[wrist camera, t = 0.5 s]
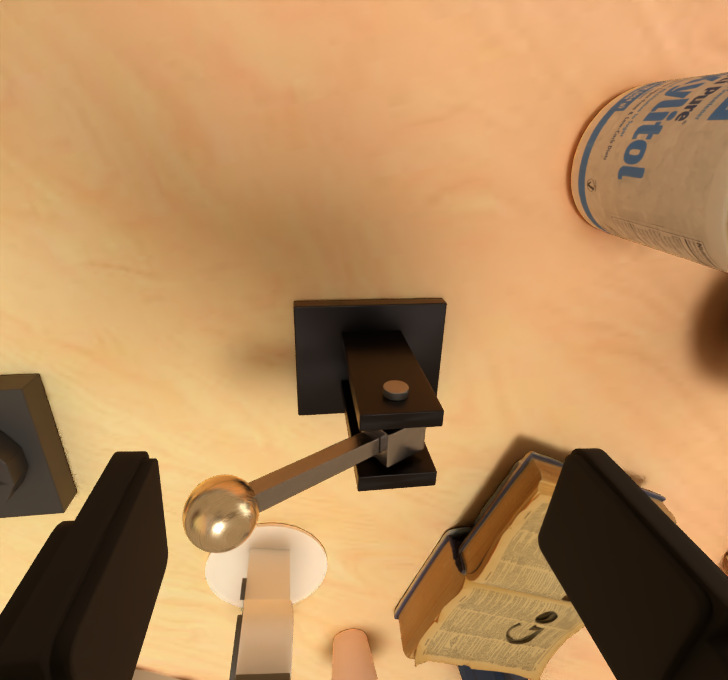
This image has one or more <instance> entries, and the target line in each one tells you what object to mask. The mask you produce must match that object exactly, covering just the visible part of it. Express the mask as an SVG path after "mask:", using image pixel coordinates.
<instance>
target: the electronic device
mask: <svg viewBox="0 0 728 680" xmlns="http://www.w3.org/2000/svg"><path fill="white" fill-rule="evenodd" d="M458 667H459V671H460V674H461V677H462V680H528V679H527V678H524V677H522V676H519V675H515V674H511V673H504V672H497V671H488V670H476V669H471V668H470V667H469V666H466V665H462V666H460V665H458Z"/></svg>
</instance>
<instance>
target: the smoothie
mask: <svg viewBox="0 0 728 680" xmlns="http://www.w3.org/2000/svg"><path fill="white" fill-rule="evenodd" d="M332 680H378V678H377V675H376V671H375V667H374V663H373V659H372V655H371V652H370V648H369V644H368V640H367V636H366V634H365V633H364V632H363V631H361V630H358V629H348V630H345V631H342V632H340V633H339V634H337V635H336V637H335V638H334V641H333V661H332Z"/></svg>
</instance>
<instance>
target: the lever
mask: <svg viewBox="0 0 728 680" xmlns="http://www.w3.org/2000/svg"><path fill="white" fill-rule="evenodd" d="M425 429H426V427H419V428H403V429H387V430H370V431H361V433H359V434H357V435H354V436H352V437H350V438H348V439H345V440H343V441H341V442H339V443H336V444H334V445H332V446H330V447H328V448H325V449H323V450H321V451H319V452H316V453H314V454H312V455H310V456H307V457H305V458H303V459H301V460H298V461H296V462H294V463H292V464H289V465H287V466H285V467H283V468H281V469H278V470H276V471H274V472H272V473H269V474H267V475H265V476H263V477H260V478H258V479H256V480H254V481H251V482H249V483H247V482H246V481H245V480H243V479H241V478H239V477H237V476H233V475H217V476H213V477H211V478H209V479H206V480H205V481H203V482H202V483H200V484H199V485H198V486H197V487H196V488H195V489H194V490H193V491H192V492H191V494H190V495H189V497H188V499H187V501H186V503H185V506H184V510H183V519H182V520H183V527H184V530H185V533H186V535H187V537H188V539H189V540H190V541H191V542H192V543H193V544H194V545H195V546H196V547H198V548H199V549H201V550H203V551H206V552H210V553H223V552H228V551H231V550H233V549H235V548H237V547H239V546H240V545H241V544H243V543H244V542H245V541H246V540H247V539H248V538H249V537H250V535H251V534H252V532H253V531H254V529H255V527H256V524H257V521H258V517H259V513H260V512H262V511H264V510H266V509H268V508H270V507H272V506H274V505H276V504H278V503H280V502H282V501H284V500H286V499H288V498H290V497H292V496H294V495H296V494H298V493H300V492H302V491H304V490H306V489H308V488H310V487H312V486H314V485H316V484H318V483H320V482H322V481H324V480H326V479H328V478H330V477H332V476H334V475H336V474H338V473H340V472H342V471H344V470H346V469H348V468H351V467H353V466H355V465H357V464H359V463H361V462H363V461H365V460H367V459H369V458H371V457H373V456H374V457H375V458H376V459H377V460H379V461H380V462H381V463H382V464H383V465H384V466H386V467H387V468H388V467H390V466H392V465H394V464H396V463H398V462H400V461H402V460H403V459H405V458H407V457H409V456H411V455H413V454H415V453H417V452H419V451H421V450H422V449H423V448H424V439H425Z"/></svg>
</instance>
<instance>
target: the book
mask: <svg viewBox="0 0 728 680" xmlns="http://www.w3.org/2000/svg"><path fill="white" fill-rule="evenodd" d="M563 464H564V462H561V461H558V460H556V459H554V458H551V457H549V456H546V455H543V454H539V453H536V452H534V451H531V452H529V453H527V454H526V456H525V457H524V458H522V459H520V460H519V461H517V463H515V464H514V466H513V467H512V469H511V470H510V473H509V474H508V476H507V477H506V478H505V479H504V480H503V481H502V483H501V484H500V485H499V486H498V489H497V490H496V492H495V493H494V495H492V497H491V498H490V499H489V500H488V502H487V503H486V504H485V506H484V507H483V509H482V511H481V513H480V514H479V516H477V518H476V520H475V522H474V524H473V527H472V528H468V527H462V528H458V529H452V530H449V531H447V532H446V533H445V534H444V536H443V537H442V538H441V540H440V542H439V543H438V544H437V546H436V547H435V549H434V551H433V552H432V553H431V555H430V557H429V558H428V559H427V561H426V563H425V564H424V566H423V568H422V569H421V570H420V572H419V573H418V574H417V576H416V578H415V580H414V581H413V582H412V584H411V586H410V587H409V589H408V590H407V592H406V594H405V595H404V597H403V599H402V600H401V601H400V603H399V605H398V607H397V608H396V610H395V615H394V618H395V619H399V623H400V632H401V639H402V645H403V651H404V653H405V655H406V656H407V658H410V659H415V667H416V666H417V665H418V664H421V663H424V662H427V661H432V662H440V663H447V664H453V665H460V666H462V665H466V666H469V667H470V668H471V669H476V670H488V671H497V672H504V673H511V674H515V675H519V676H522V677H524V678H527V679H530V680H539V679H540V676H541V674H542V672H543V670H544V668H545V666H546V665H547V663H548V661H549V660H550V658H551V657H552V656H553V655H554V654H555V653H556V651H557V650H558V648H559V647H560V646H561V645H562V644H563V643H564V642H565V641H566V640H567V639H568V638H570V637H571V636H572V635H573V634H575V633H576V632H578V631H579V630H580V629H581V628H583V627H584V626H585V625H584V623H583V622H582V620H581V618H580V617H579V615H578V613H577V611H576V610H575V608H574V606H573V605H572V603H571V601H570V600H569V598H568V596H567V595H566V593H565V591H564V589H563V588H562V586H561V584H560V583H559V581H558V579H557V578H556V576H555V574H554V573H553V571H552V569H551V567H550V566H549V564H548V562H547V561H546V559H545V557H544V556H543V554H542V552H541V550H540V548H539V544H538V534H539V531H540V528H541V526H542V523H543V520H544V517H545V514H546V512H547V509H548V506H549V503H550V500H551V498H552V495H553V492H554V489H555V486H556V484H557V481H558V478H559V475H560V472H561V469H562V467H563ZM641 489H642V490H643V491H644V492H645V493H646V494H647V495H648V496H649V497H650V498H651V499H652V500H653V501H654V502H655V503H656V504H657V505H658V506H659V507H660V508H661V510H662V511H663V512H664V513H665V514H666V515H667V516H668V517H669V518H670V519H671V520H672V521H673V522H674V523H675V524H676V520H675V517H674V516H673V514H672V513H671V512H670V511H669V510H668V509H667V508H666V506H665V505H664V504H663V502H662V501H664V500H666V499H665V498H664V497H663V496H661V495H660V494H657V493H655V492H653V491H650V490H647V489H643V488H641Z"/></svg>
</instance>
